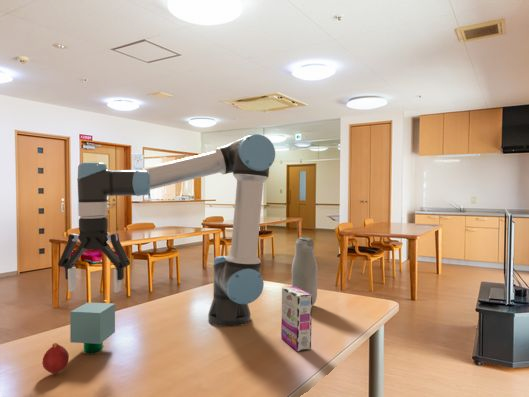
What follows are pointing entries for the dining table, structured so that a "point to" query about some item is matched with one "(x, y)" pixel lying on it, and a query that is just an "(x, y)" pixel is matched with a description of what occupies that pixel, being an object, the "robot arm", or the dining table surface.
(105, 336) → the seafoam cube
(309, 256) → the grey bottle
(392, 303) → the dining table surface
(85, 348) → the soda can
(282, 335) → the candy bar box
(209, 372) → the dining table surface
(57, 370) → the pomegranate
